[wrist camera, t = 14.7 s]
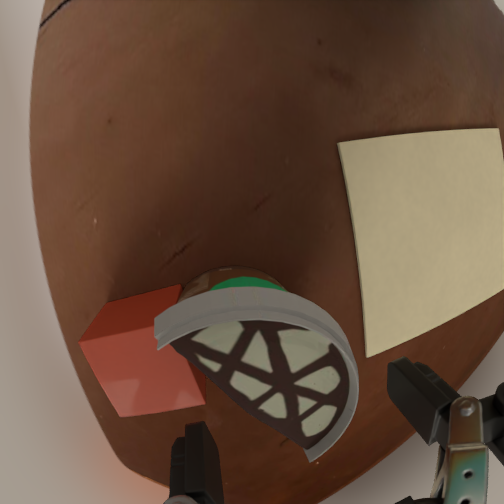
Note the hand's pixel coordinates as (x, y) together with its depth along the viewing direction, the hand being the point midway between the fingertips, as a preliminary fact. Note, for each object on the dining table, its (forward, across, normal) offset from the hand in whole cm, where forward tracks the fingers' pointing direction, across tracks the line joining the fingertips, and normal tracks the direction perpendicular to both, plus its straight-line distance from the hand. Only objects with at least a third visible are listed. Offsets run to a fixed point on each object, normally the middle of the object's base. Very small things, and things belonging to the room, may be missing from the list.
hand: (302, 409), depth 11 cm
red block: (+12, +8, 0) cm, 14 cm away
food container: (+12, 0, 0) cm, 12 cm away
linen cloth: (+11, -18, -1) cm, 21 cm away
